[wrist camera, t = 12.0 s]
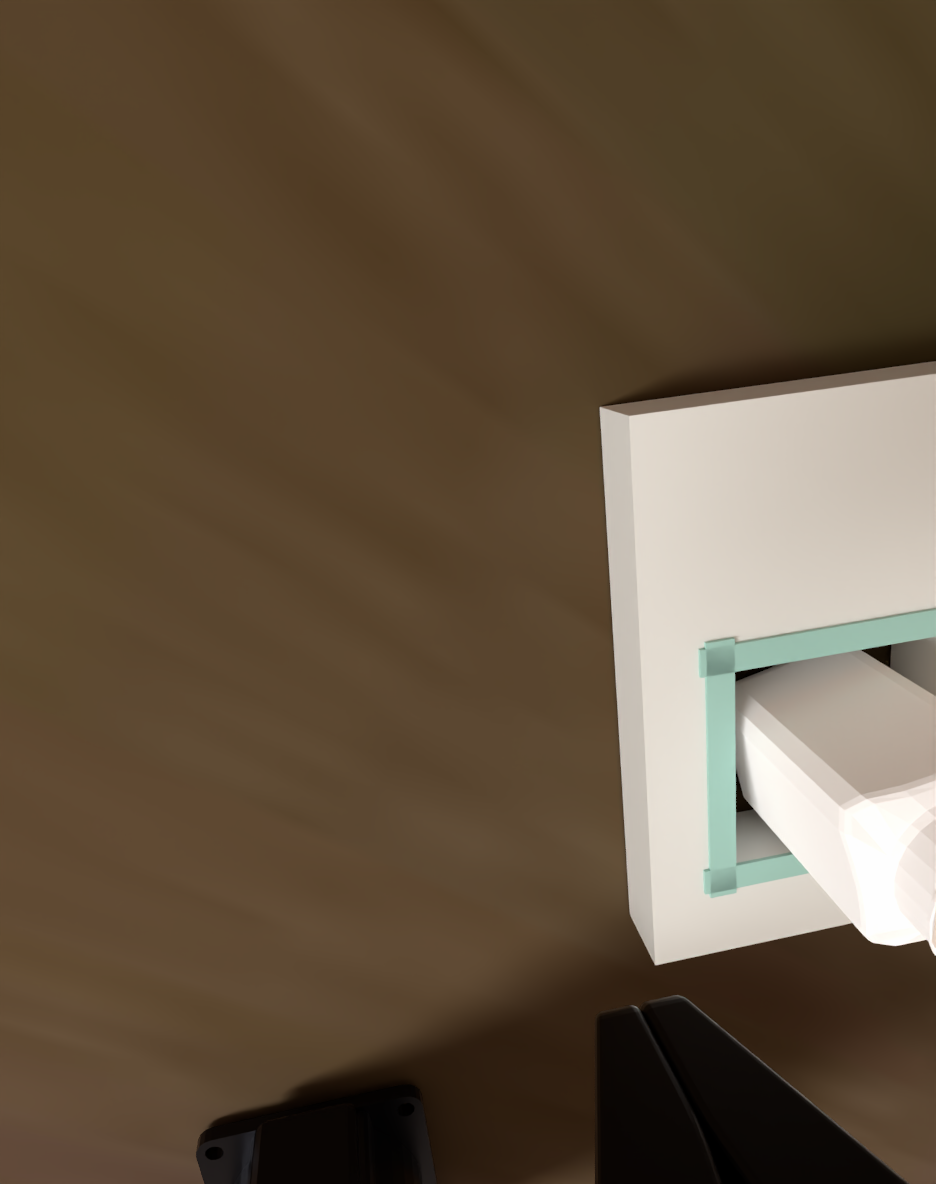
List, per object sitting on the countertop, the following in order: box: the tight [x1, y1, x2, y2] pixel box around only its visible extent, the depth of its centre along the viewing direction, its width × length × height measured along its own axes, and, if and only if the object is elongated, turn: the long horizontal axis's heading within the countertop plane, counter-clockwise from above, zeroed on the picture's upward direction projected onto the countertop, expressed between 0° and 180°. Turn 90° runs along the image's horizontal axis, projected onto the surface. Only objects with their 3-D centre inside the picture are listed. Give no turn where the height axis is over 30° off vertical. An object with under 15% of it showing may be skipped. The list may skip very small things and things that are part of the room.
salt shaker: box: [735, 650, 936, 955], centre depth 18 cm, size 4×4×10 cm
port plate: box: [600, 361, 936, 965], centre depth 21 cm, size 14×10×2 cm
